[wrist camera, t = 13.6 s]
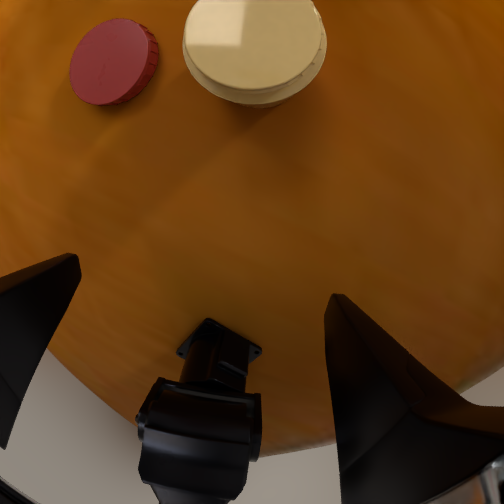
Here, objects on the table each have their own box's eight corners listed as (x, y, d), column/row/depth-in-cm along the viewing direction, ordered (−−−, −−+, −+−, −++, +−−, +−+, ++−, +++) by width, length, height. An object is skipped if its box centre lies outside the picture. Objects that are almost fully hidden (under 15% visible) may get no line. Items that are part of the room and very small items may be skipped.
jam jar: (267, 126, 18) (267, 134, 10) (193, 76, 16) (141, 53, 8) (324, 61, 15) (365, 26, 7) (250, 10, 14) (237, -51, 6)
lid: (113, 13, 13) (101, 7, 12) (177, 43, 15) (168, 37, 13) (70, 84, 16) (56, 84, 14) (126, 120, 17) (113, 121, 16)
